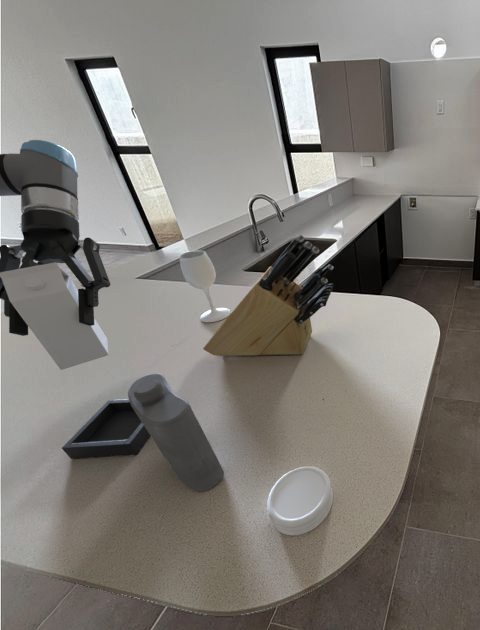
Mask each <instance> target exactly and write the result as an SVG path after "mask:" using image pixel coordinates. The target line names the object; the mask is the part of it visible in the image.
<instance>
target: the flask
mask: <svg viewBox="0 0 480 630" xmlns="http://www.w3.org/2000/svg"><path fill="white" fill-rule="evenodd" d="M127 397H128V398H127V399H129V402H130V404H131V406H132V408H133V409H134V411H135V412H136V414H137V416H138V417H139V419H140V420H141V422H142V423H143V425H144V426H145V428H146V429H147V431H148V433H149V434H150V436H151V437H150V438H151V439H152V440H153V442H154V443H155V446H156V447H157V448H158V449H159V451H160V453H161V454H162V456H163V457H164V459H165V460H166V462H167V464H168V465H169V467H170V468H171V469H172V471H173V473H174V475H175V476H176V477H177V479H179V481H180V482H181V483H182V484H183V485H184V486H186V487H187V488H189V489H190V490H192V491H194V492H205V491H208V490H210V489H212V488H214V487H215V486H217V484H219V483H220V481H222V478H223V477H224V473H225V471H224V469H223V467H222V465H221V462H220V461H219V459H218V457H217V455H216V453H215V451H214V449H213V447H212V445H211V443H210V441H209V440H208V437H207V435H206V433H205V432H204V430H203V427H202V426H201V424H200V422H199V420H198V418H197V416H196V414H195V412H194V411H193V409H192V407H191V404H190V403H189V401H187V400H186V399H183V398H181V397H180V396H178V395H177V394H175V393H174V392H173V389H172V388H171V386H170V384H169V382H168V380H167V378H166V377H165V375H164V374H162V373H151V374H148V375H144V376H142V377H140V378H138V379H136V380H134V382H133V383H131V384H130V386H129V388H128V391H127Z"/></svg>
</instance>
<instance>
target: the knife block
mask: <svg viewBox="0 0 480 630" xmlns="http://www.w3.org/2000/svg"><path fill="white" fill-rule="evenodd" d="M304 241H305V237H304V236H303V235H302V234H297V235H296V237H294V239H292V241H291V242H290V244H289V245H288V246H287V247H286V248H285V250H284V251H283V252H282V253H281V254H280V256H279V257H278V258H277V259H276V260H275V262H274V263H273V264H272V265H271V266H269V267H268V268H267V270H266V271H265V272H264V273H263V274H262V276H261V277H260V278H259V279H258V280H257V281H256V283H255V284H254V285H253V286H252V287H251V289H250V290H249V291H248V293H247V294H246V295H245V296H244V297H243V298H242V300H241V301H240V302H239V303H238V305H237V306H236V307H235V308H234V309H233V310H232V312H230V315H229V316H228V317H226V318H225V319H224V321H223V322H222V324H221V325H220V326H219V328H217V330H216V331H215V332H214V334H213V335H212V336H211V337H210V339H209V340H208V341H207V342H206V344H205V345H204V346H203V347H202V348H203V350H204V351H205V352H207V353H209V354H210V355H212V356H216V357H219V356H221V357H222V356H223V357H227V356H228V357H229V356H232V357H233V356H260V355H262V356H265V355H267V356H269V355H271V356H272V355H278V356H279V355H302V354H304V351H305V349H306V347H307V345H308V343H309V341H310V338H311V336H312V333H313V327H312V322H311V317H313V316H314V315H315V314H316V313H317V312H318V311H319V310H320V309H322V308H323V307H326V306H327V303H328V301H329V298H330V296H331V294H332V292H333V289H334V283H328V282H329V280H328V278H327V276H328V275H329V274H330V273H331V272H333V269H334V266H333V265H332V264H328V265H326V266H325V267H324V268H321V267H318V268H317V269H316V270H315V271H314V272H313V274H312V275H311V276H310V277H309V278H307V280H306V281H305V282H304V283H303V284H302V286H301V285H300V284H298V283H297V282H295V280H296V279H297V277H299V276H300V275H301V273H302V272H303V271H304V270H305V269H306V268H307V267H308V266H309V265H310V264H311V262H312V261H313V260H314V258H315V257H317V255H318V254H319V252H320V249H319V247H317V246H313V244H312V243H311V242H310V241H305V242H304ZM303 242H304V243H303ZM302 244H303V245H302ZM301 245H302V246H301ZM300 246H301V247H300Z"/></svg>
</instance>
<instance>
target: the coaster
mask: <svg viewBox="0 0 480 630" xmlns="http://www.w3.org/2000/svg"><path fill="white" fill-rule="evenodd" d="M333 502H334V492H333V486H332V483H331V479H330V477H329V476H328V474H327V473H326V472H325V471H324V470H322V469H321V468H319V467H316V466H313V465H312V466H311V465H307V466H305V465H304V466H300V467H296V468H294V469H292V470H290V471H288V472H286V473H285V474H283V475H282V476H281V477H280V478H279V479H278V480H277V481H275V483H274V485H273V486H272V488H271V490H270V492H269V495H268V498H267V503H266V508H267V514H268V517H269V518H270V520H271V523H272V525H273V527H274V528H275V529H276V530H277V531H278V532H279V533H281V534H284V535H287V536H292V537H293V536H301V535H305V534H307V533H309V532H311V531H313V530H315V529H316V528H317V527H318V526H319V525H321V524H322V522H324V521H325V519H326V518H327V517H328V515H329V513H330V511H331V509H332V506H333Z"/></svg>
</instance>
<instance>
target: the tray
mask: <svg viewBox="0 0 480 630" xmlns="http://www.w3.org/2000/svg"><path fill="white" fill-rule="evenodd" d="M151 438H152V437H151V436H150V434H149V433H148V431H147V429H146V428H145V426H144V425H143V423H142V422H141V420H140V419H139V417H138V416H137V414H136V412H135V411H134V409H133V408H132V406H131V404H130V402H129V398H127V399H125V398H124V399H108V400H107V401H106V402H105V403H104V404H103V405H102V406H101V407H100V408H99V409H98V410H97V411H96V412H95V413H94V415H92V416H91V417H90V419H88V420H87V421H86V422H85V423H84V424H83V425H82V427H80V428H79V429H78V431H76V433H74V434H73V436H72V437H70V439H69V440H67V442H66V443H64V445H63V446H62V447H61V450H63V452H64V453H65V454H66V455H67V457H69V459H70V460H79V459H93V458H94V459H95V458H110V457H129V456H138V455H139V453H140V452H141V451H142V449H143V448H144V447H145V445H146V444H147V442H149V440H150V439H151Z"/></svg>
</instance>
